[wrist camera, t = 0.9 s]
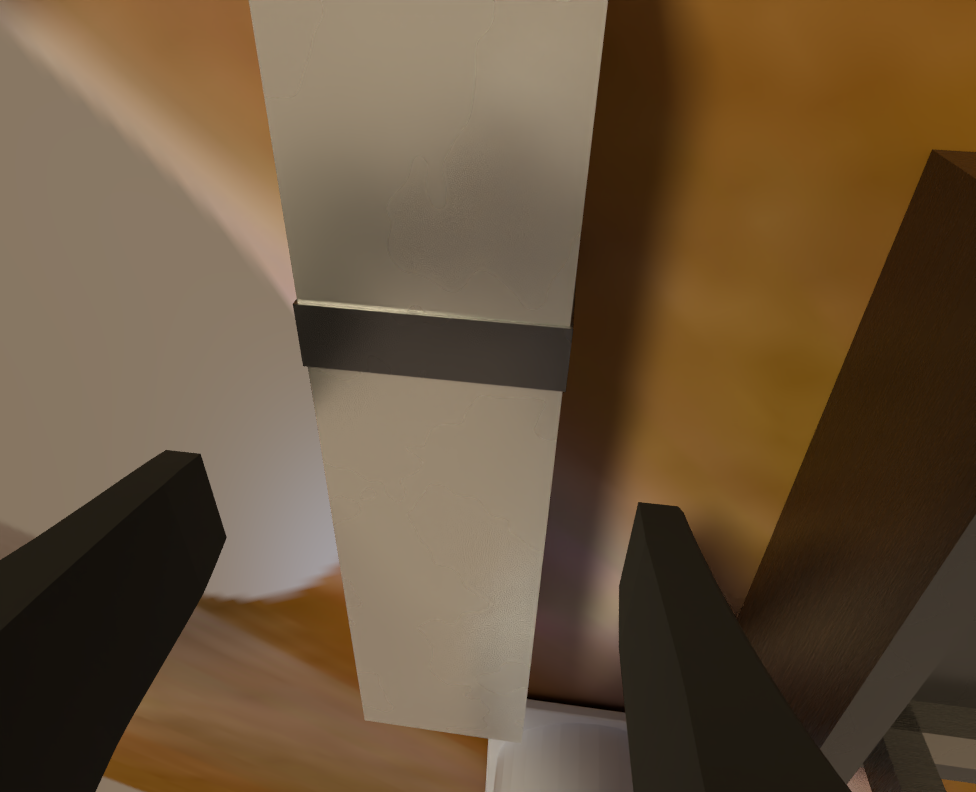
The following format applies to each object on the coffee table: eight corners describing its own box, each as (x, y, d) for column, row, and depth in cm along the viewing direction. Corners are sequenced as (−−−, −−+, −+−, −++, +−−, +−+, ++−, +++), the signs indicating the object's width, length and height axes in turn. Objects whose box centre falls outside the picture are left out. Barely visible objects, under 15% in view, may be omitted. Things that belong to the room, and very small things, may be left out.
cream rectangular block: (535, 608, 21) (522, 746, 18) (400, 590, 22) (362, 722, 18) (630, -228, 10) (650, -317, 6) (333, -232, 10) (189, -319, 6)
